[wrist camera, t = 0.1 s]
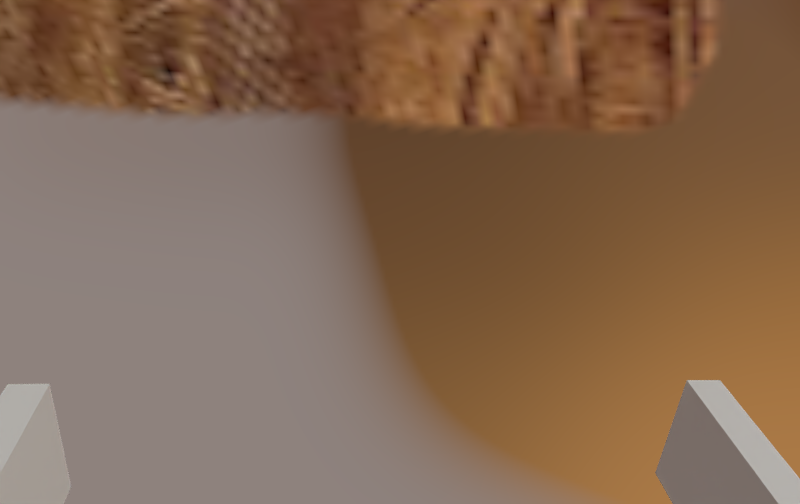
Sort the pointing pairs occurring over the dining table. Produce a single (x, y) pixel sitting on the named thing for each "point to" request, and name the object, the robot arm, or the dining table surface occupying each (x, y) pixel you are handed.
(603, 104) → the dining table surface
